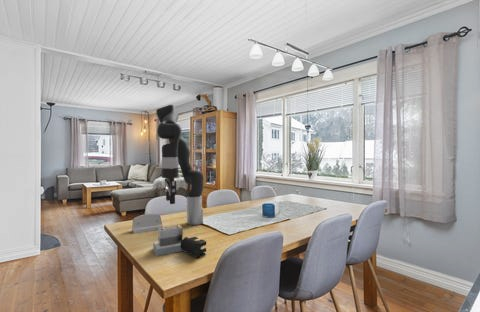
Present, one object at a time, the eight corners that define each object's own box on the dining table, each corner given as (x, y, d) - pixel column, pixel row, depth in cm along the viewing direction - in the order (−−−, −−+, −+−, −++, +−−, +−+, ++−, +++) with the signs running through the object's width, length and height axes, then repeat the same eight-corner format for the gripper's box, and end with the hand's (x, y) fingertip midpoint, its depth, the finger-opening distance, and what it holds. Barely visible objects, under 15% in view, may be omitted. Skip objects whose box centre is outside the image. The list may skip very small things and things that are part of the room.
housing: (158, 242, 116) (158, 226, 116) (179, 239, 120) (179, 223, 120) (160, 246, 112) (160, 229, 111) (182, 242, 116) (182, 226, 116)
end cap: (180, 253, 111) (180, 238, 111) (193, 249, 117) (193, 234, 116) (193, 260, 104) (193, 244, 104) (207, 255, 110) (206, 239, 109)
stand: (183, 243, 123) (183, 237, 123) (188, 250, 115) (187, 243, 115) (153, 248, 117) (153, 242, 117) (156, 256, 109) (156, 249, 109)
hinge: (132, 233, 138) (131, 215, 141) (131, 234, 142) (130, 216, 144) (163, 228, 146) (162, 211, 149) (161, 229, 150) (160, 212, 153)
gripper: (159, 166, 120) (159, 200, 120) (164, 168, 107) (165, 206, 107) (174, 165, 123) (175, 198, 124) (182, 167, 110) (182, 204, 111)
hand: (170, 202), depth 116 cm, fingers open, 8 cm apart
